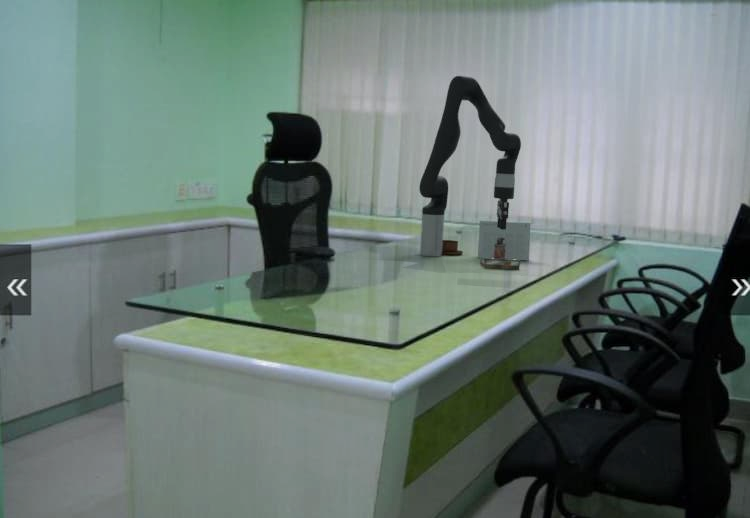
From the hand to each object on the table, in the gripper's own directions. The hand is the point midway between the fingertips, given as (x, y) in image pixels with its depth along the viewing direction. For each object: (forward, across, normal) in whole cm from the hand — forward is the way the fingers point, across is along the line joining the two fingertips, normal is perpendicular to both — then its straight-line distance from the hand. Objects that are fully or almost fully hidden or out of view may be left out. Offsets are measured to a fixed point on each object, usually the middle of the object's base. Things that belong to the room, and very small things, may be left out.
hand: (501, 228), depth 314 cm
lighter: (+14, 0, 0) cm, 14 cm away
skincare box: (+15, +28, -5) cm, 32 cm away
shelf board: (+14, 0, 0) cm, 15 cm away
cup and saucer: (+15, +35, +17) cm, 42 cm away
